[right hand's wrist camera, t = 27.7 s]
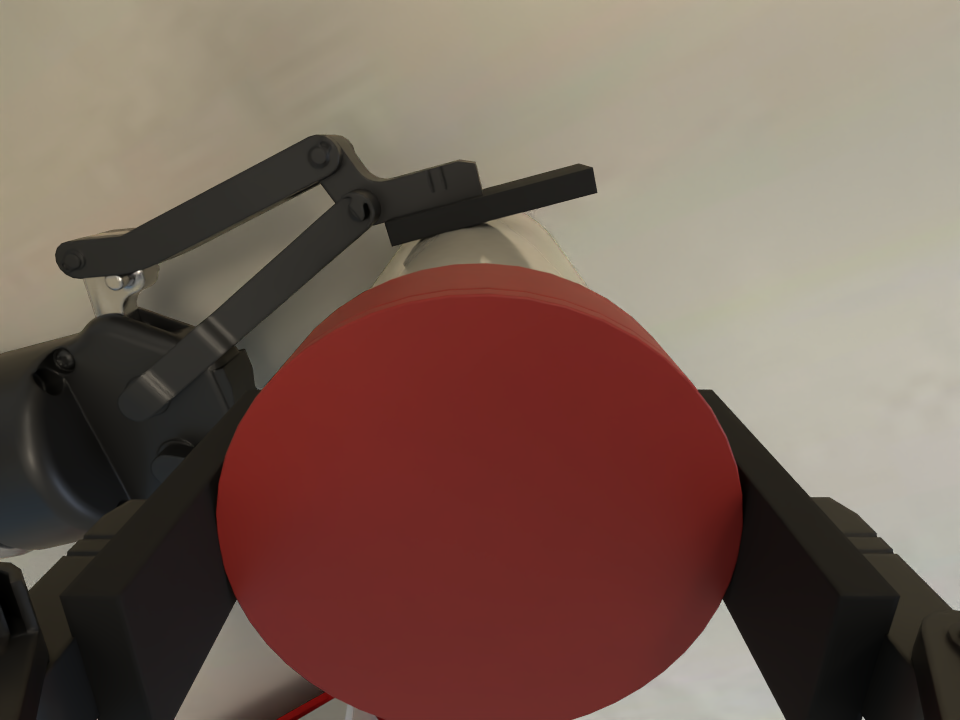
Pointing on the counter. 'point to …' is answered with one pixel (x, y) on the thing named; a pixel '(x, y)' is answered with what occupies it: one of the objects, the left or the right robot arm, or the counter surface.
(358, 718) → the toy
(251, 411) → the lid
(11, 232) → the counter surface
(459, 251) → the jar
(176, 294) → the counter surface
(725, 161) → the counter surface
